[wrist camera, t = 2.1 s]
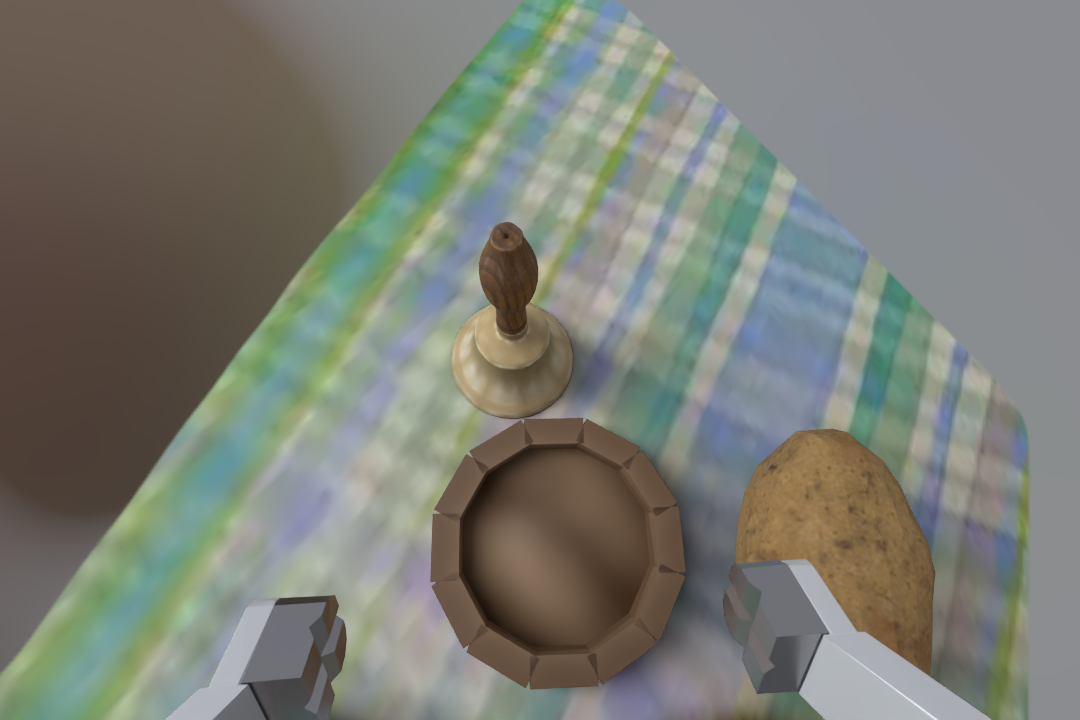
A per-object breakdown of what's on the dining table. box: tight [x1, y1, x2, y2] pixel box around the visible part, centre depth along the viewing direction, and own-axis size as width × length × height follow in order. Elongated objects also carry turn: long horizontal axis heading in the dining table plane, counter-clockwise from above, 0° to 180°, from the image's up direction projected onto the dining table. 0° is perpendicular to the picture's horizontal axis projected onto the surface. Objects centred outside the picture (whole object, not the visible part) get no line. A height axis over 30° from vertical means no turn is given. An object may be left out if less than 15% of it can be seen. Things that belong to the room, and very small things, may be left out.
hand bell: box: [451, 222, 573, 418], centre depth 27 cm, size 8×8×16 cm
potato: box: [735, 429, 935, 676], centre depth 27 cm, size 10×14×8 cm
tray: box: [431, 418, 686, 689], centre depth 29 cm, size 14×14×3 cm
